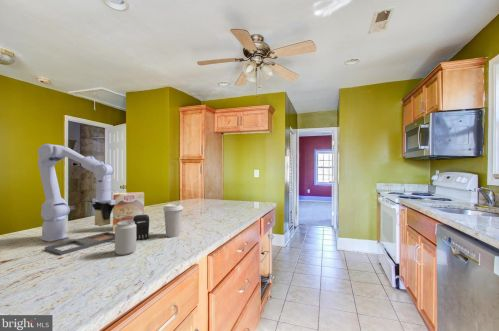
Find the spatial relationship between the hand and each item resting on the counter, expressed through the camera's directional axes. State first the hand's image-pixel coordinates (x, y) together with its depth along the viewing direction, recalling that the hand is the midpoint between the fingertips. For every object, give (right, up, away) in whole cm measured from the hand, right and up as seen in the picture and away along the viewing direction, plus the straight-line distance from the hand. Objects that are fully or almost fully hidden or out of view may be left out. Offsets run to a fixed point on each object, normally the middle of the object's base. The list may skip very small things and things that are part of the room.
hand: (103, 218), depth 108 cm
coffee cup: (+30, -10, +7) cm, 33 cm away
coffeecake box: (+2, -10, +19) cm, 22 cm away
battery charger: (+18, -10, 0) cm, 20 cm away
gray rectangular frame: (-3, -9, -6) cm, 12 cm away
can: (+20, -10, -17) cm, 27 cm away
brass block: (0, -3, 0) cm, 3 cm away
